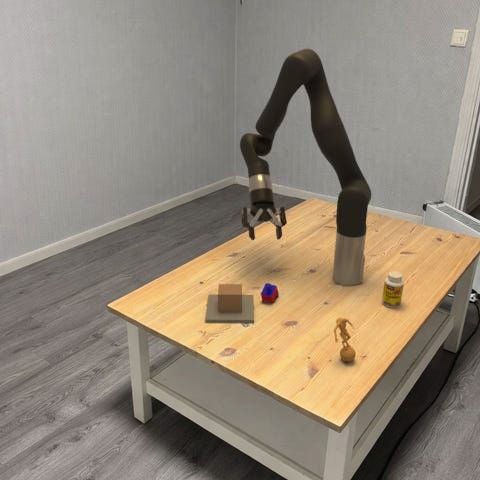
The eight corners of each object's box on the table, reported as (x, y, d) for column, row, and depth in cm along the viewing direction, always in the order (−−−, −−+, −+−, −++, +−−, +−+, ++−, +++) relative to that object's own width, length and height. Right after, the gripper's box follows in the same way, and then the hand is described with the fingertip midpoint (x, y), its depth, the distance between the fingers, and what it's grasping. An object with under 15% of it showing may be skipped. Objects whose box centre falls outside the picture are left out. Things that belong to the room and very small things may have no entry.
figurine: (345, 371, 133) (349, 331, 128) (324, 361, 137) (328, 321, 131) (362, 355, 138) (366, 317, 133) (342, 346, 142) (346, 308, 137)
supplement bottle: (381, 306, 160) (385, 277, 156) (382, 297, 165) (386, 268, 161) (400, 309, 159) (404, 280, 154) (400, 300, 163) (405, 271, 159)
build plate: (253, 297, 165) (253, 277, 162) (254, 322, 152) (254, 302, 149) (208, 297, 165) (207, 277, 162) (205, 322, 152) (204, 301, 149)
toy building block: (263, 303, 165) (258, 288, 159) (268, 292, 167) (264, 277, 161) (274, 306, 163) (269, 291, 157) (278, 295, 166) (275, 280, 160)
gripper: (242, 186, 166) (247, 236, 162) (285, 186, 170) (291, 235, 166) (237, 195, 173) (241, 243, 169) (278, 195, 177) (283, 241, 173)
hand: (266, 239), depth 167 cm, fingers open, 8 cm apart
